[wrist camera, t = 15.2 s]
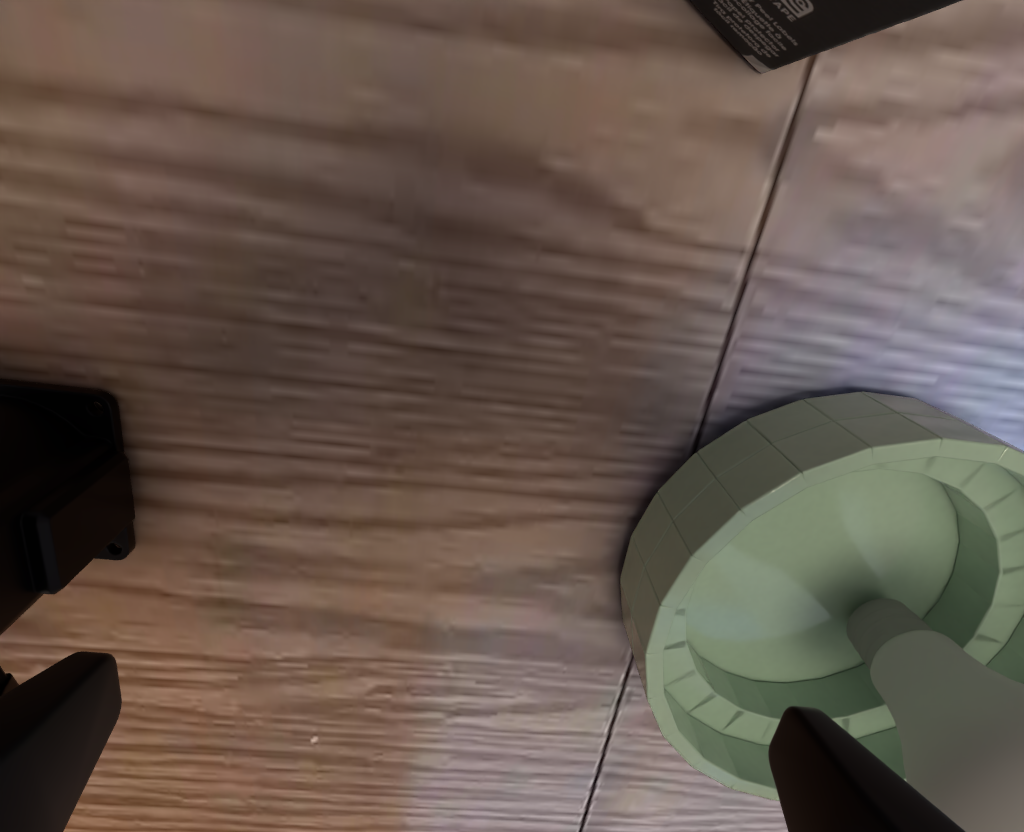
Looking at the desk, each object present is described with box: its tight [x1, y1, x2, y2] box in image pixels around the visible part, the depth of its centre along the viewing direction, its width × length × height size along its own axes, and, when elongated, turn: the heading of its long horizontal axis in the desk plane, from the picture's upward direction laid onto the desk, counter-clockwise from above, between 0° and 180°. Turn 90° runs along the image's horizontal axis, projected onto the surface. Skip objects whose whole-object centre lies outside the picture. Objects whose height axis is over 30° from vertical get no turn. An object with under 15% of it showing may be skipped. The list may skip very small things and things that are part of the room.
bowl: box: [620, 392, 1024, 801], centre depth 21 cm, size 15×15×4 cm
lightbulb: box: [846, 598, 1024, 832], centre depth 19 cm, size 6×6×11 cm
